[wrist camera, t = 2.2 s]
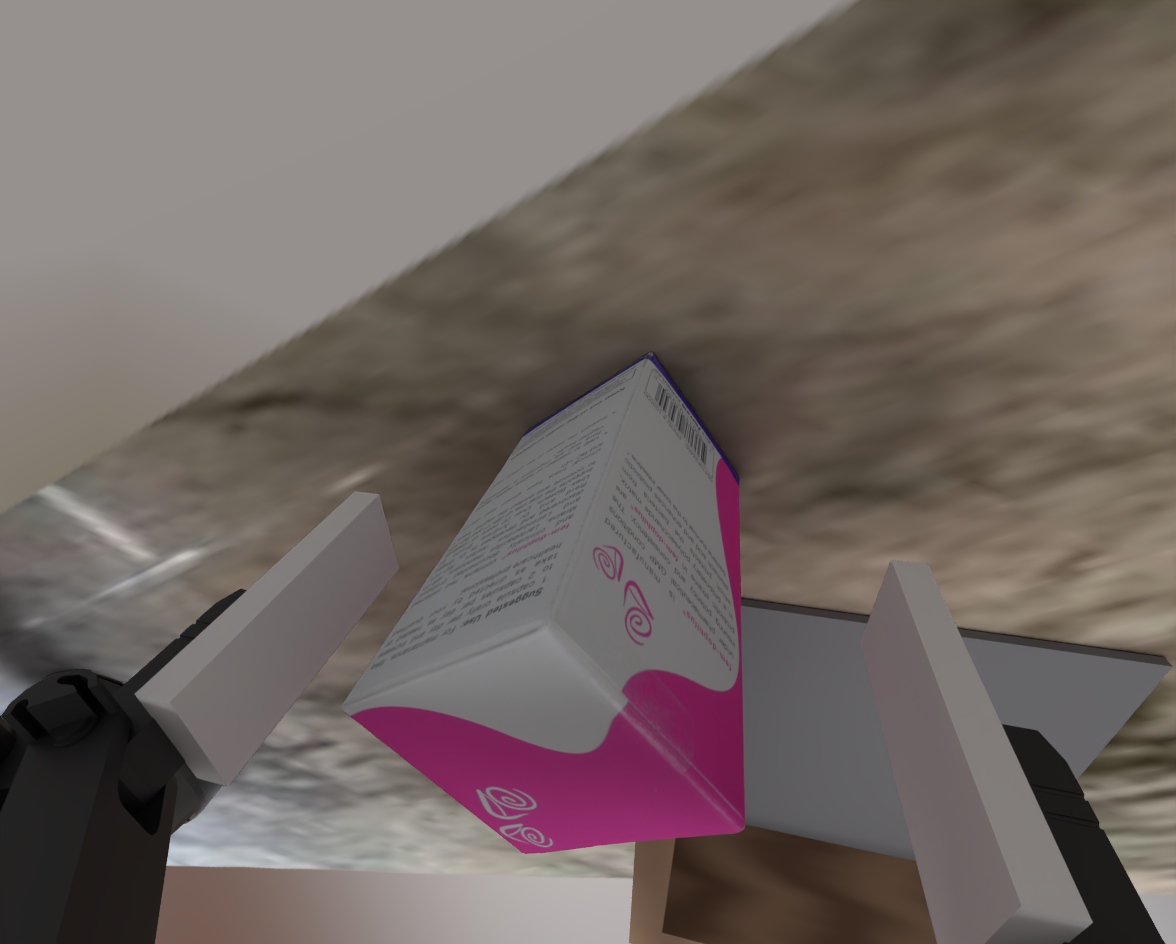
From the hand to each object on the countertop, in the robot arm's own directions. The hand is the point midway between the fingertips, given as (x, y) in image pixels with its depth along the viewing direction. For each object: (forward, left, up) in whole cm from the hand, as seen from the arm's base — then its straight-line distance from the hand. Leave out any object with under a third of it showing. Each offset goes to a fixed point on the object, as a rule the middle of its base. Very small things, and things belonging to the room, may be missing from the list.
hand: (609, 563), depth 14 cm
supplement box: (0, 0, -6) cm, 6 cm away
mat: (+11, -14, -6) cm, 19 cm away
